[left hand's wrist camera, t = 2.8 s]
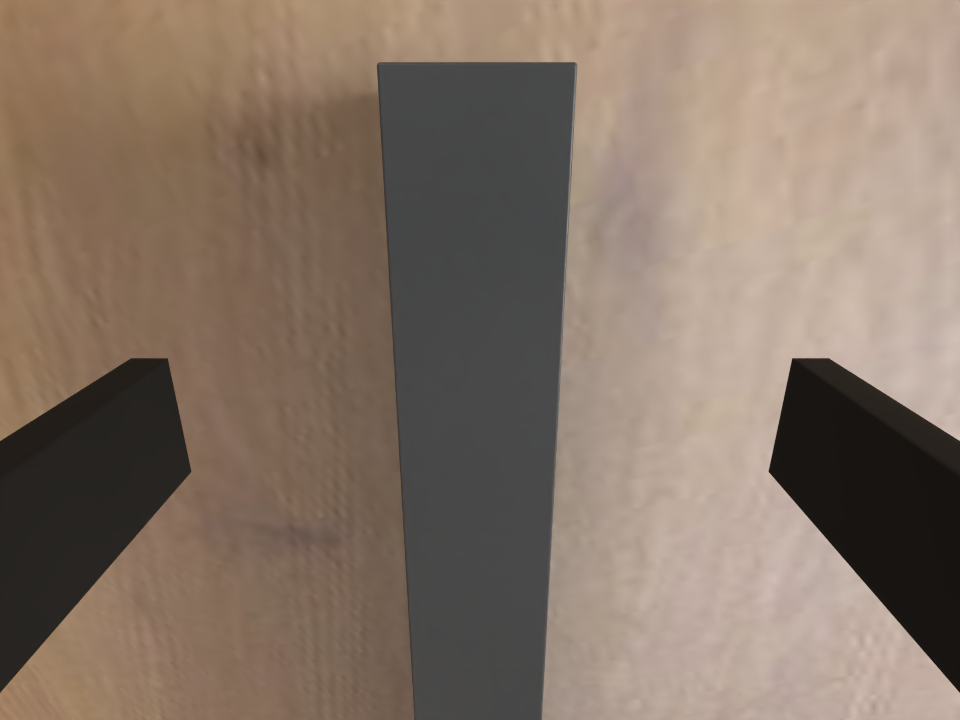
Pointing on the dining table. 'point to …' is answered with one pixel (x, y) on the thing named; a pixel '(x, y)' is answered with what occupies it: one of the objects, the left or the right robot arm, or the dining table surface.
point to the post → (477, 366)
